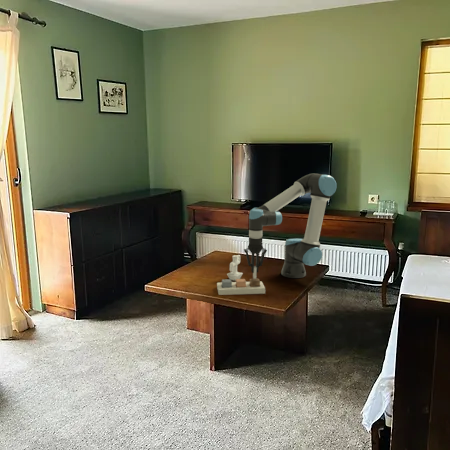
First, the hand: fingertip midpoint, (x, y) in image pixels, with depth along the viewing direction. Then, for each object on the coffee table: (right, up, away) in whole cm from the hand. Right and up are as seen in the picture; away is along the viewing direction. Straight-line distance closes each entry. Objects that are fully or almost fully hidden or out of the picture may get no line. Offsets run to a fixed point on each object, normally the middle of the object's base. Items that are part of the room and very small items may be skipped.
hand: (254, 277), depth 251 cm
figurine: (-11, -4, +20) cm, 23 cm away
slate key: (-16, -5, 0) cm, 17 cm away
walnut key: (0, -5, +1) cm, 5 cm away
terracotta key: (-8, -5, 0) cm, 9 cm away
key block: (-8, -7, +1) cm, 11 cm away
